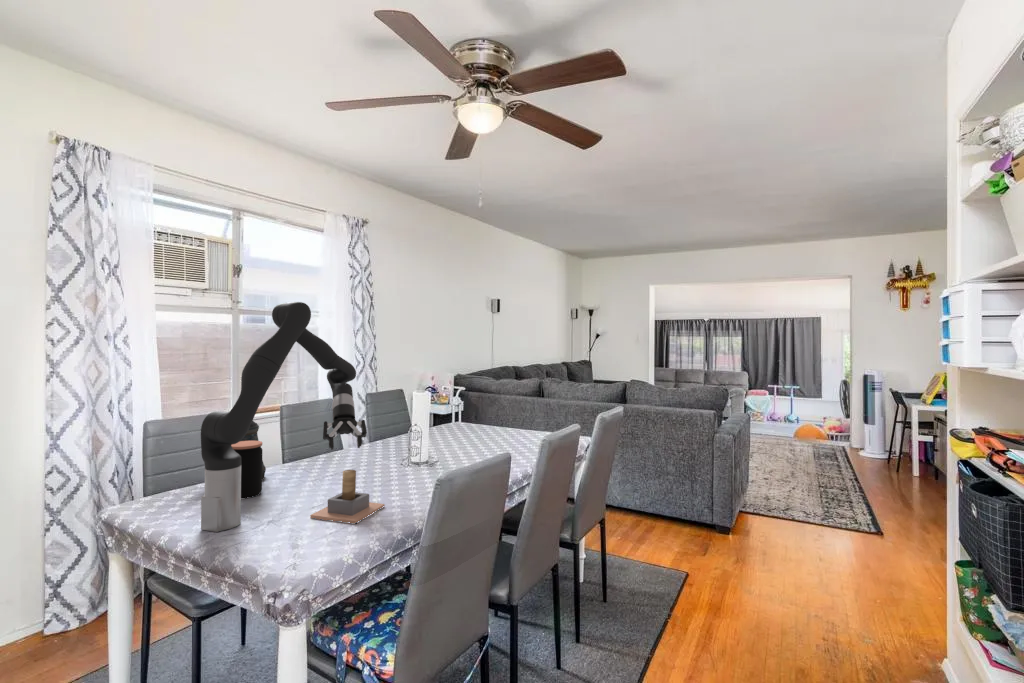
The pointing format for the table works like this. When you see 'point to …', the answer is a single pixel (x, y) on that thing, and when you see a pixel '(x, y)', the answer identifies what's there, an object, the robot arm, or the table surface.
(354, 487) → the tan dome-topped cylinder
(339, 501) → the holder
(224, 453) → the robot arm
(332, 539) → the table surface
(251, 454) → the coffee jar
